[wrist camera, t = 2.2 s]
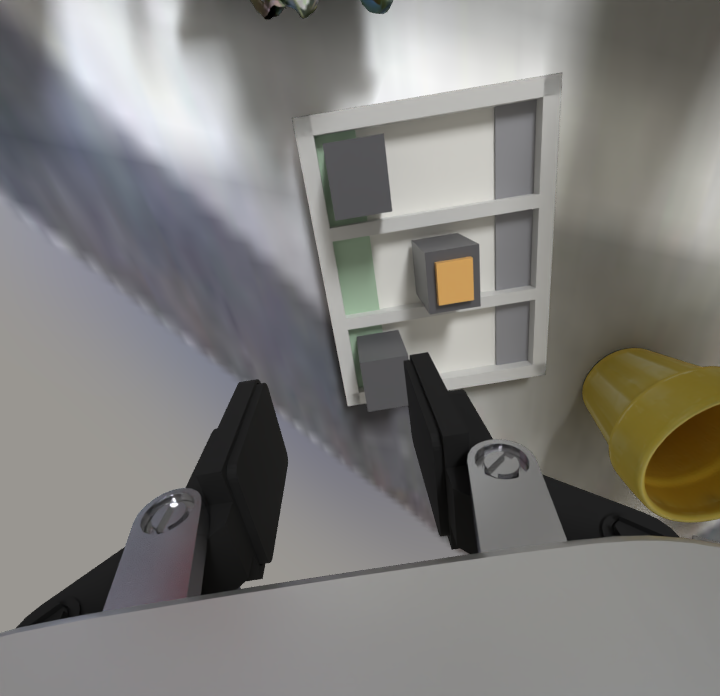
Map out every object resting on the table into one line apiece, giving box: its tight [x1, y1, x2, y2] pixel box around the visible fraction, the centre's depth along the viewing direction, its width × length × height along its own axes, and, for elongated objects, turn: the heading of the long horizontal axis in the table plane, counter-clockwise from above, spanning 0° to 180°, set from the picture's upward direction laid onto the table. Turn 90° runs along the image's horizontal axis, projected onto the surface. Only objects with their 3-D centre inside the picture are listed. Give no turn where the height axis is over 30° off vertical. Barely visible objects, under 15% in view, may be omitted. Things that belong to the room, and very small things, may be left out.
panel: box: [292, 73, 562, 406], centre depth 26 cm, size 15×19×2 cm
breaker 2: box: [357, 330, 409, 412], centre depth 26 cm, size 3×4×4 cm
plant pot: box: [582, 348, 720, 522], centre depth 28 cm, size 10×10×10 cm
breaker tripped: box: [411, 233, 481, 314], centre depth 24 cm, size 3×4×5 cm
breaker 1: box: [322, 133, 392, 221], centre depth 21 cm, size 3×4×4 cm
